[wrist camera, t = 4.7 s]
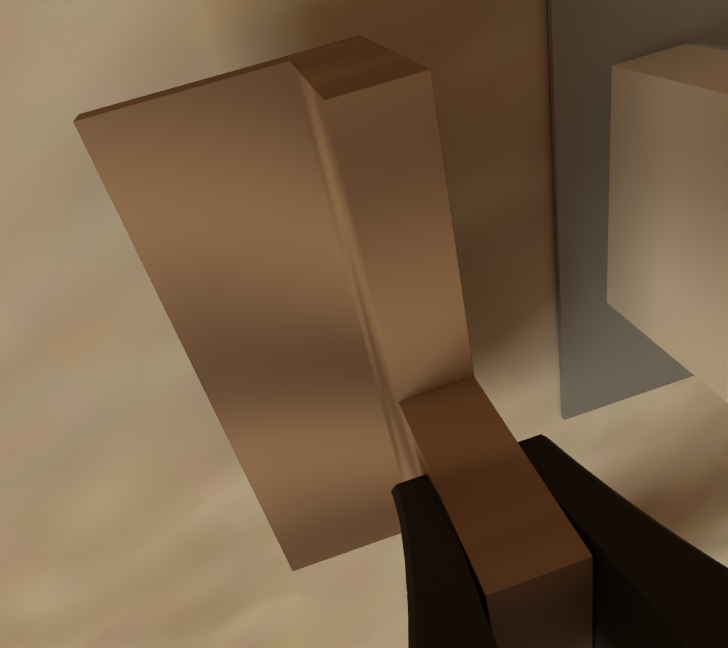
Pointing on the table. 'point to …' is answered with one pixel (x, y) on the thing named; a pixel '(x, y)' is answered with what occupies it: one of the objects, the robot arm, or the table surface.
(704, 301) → the light tan wooden block
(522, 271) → the table surface
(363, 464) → the walnut scraper
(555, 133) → the charcoal mat
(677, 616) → the robot arm
